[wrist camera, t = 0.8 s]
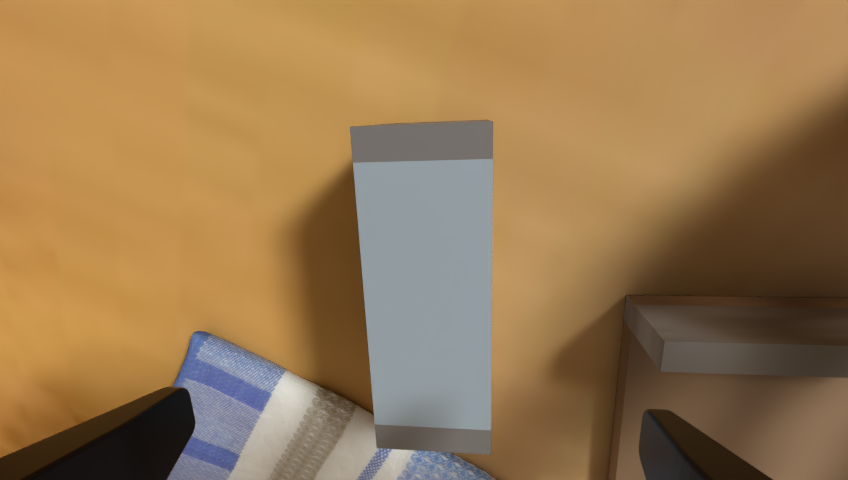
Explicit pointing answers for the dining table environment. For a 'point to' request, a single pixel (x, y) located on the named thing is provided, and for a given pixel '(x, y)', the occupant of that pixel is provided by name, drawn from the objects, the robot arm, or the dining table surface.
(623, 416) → the cradle
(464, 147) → the light blue rectangular block
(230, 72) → the dining table surface
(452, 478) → the dish towel
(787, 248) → the dining table surface
